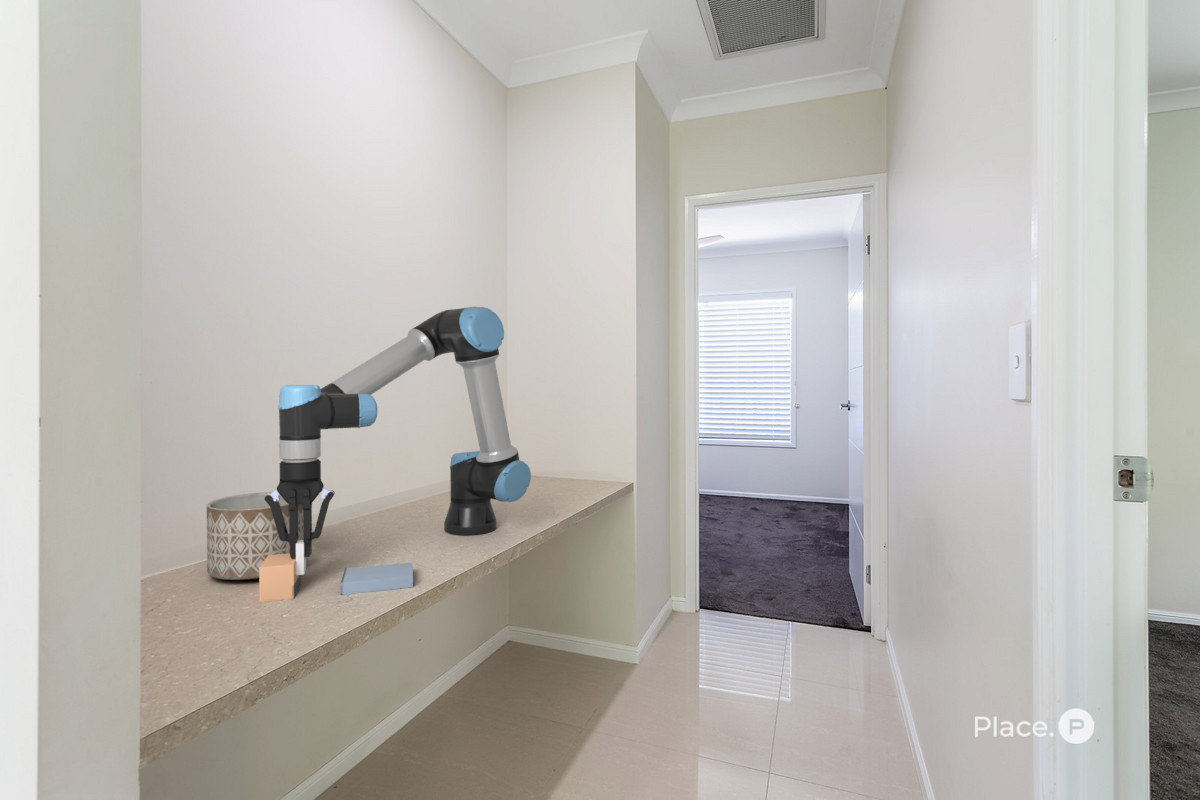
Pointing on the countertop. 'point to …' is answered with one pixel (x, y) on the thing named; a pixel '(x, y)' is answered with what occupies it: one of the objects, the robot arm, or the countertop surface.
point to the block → (278, 578)
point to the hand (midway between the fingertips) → (301, 572)
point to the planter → (244, 535)
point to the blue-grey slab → (377, 578)
